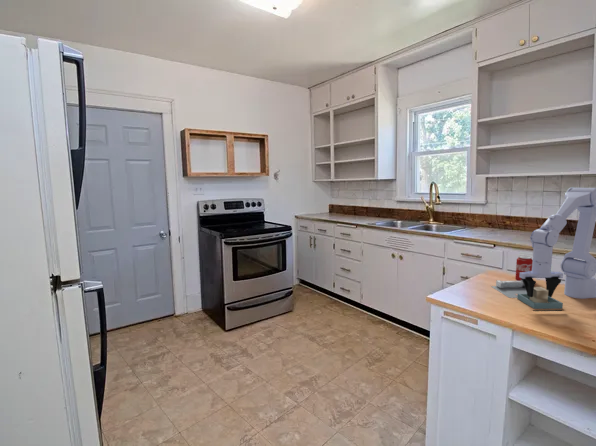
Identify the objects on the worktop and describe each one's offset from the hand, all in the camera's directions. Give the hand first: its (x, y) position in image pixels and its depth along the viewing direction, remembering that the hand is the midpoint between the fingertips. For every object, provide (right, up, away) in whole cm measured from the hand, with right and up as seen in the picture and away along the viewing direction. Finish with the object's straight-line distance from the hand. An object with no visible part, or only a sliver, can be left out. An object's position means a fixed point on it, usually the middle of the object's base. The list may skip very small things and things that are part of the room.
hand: (539, 296), depth 124 cm
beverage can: (+13, 0, +28) cm, 31 cm away
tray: (0, -4, 0) cm, 4 cm away
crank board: (+1, -2, +13) cm, 14 cm away
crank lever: (+2, 0, +18) cm, 18 cm away
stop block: (0, -3, +1) cm, 3 cm away
